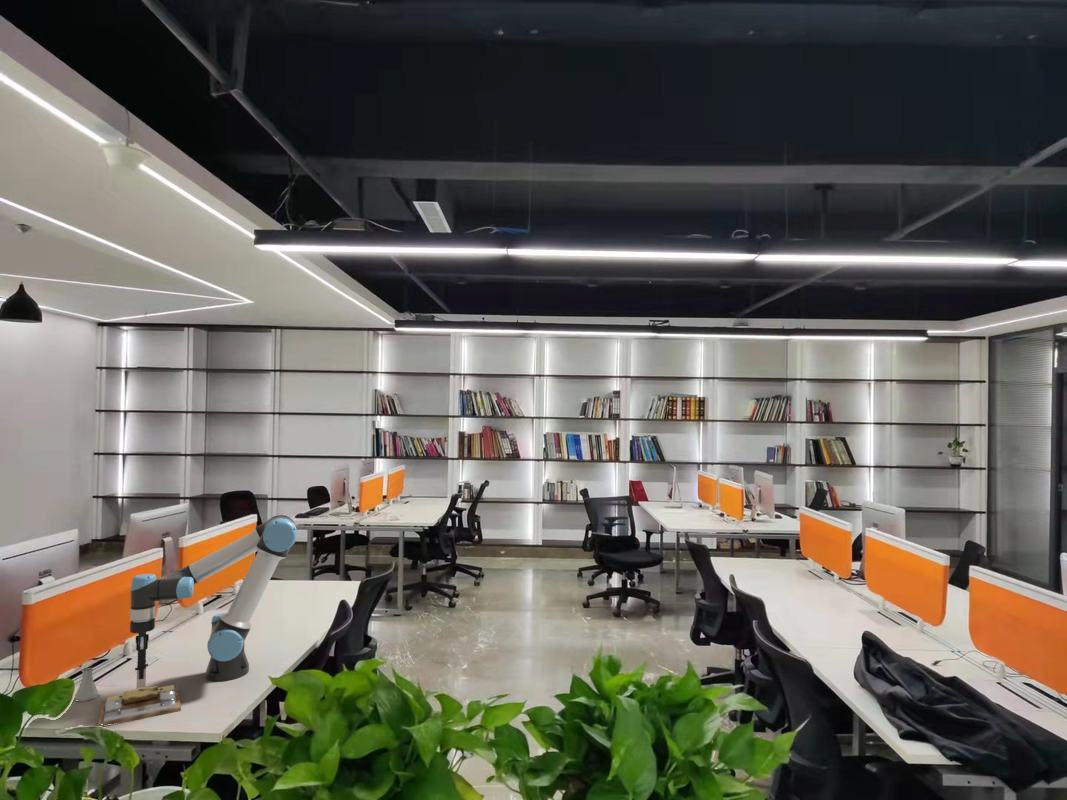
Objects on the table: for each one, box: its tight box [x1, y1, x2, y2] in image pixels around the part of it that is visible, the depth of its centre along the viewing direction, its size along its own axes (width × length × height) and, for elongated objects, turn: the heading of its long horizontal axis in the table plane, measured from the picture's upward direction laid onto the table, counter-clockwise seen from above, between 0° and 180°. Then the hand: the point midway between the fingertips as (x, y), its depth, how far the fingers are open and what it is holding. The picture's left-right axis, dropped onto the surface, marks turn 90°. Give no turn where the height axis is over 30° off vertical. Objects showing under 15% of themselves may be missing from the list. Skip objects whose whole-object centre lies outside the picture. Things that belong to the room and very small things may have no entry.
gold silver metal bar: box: [106, 684, 175, 705], centre depth 221 cm, size 20×8×4 cm, turn 121°
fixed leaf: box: [103, 689, 177, 722], centre depth 212 cm, size 21×8×4 cm, turn 121°
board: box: [97, 686, 182, 728], centre depth 217 cm, size 23×20×1 cm
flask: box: [73, 667, 100, 703], centre depth 225 cm, size 7×7×10 cm
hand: (141, 687), depth 224 cm, fingers closed
